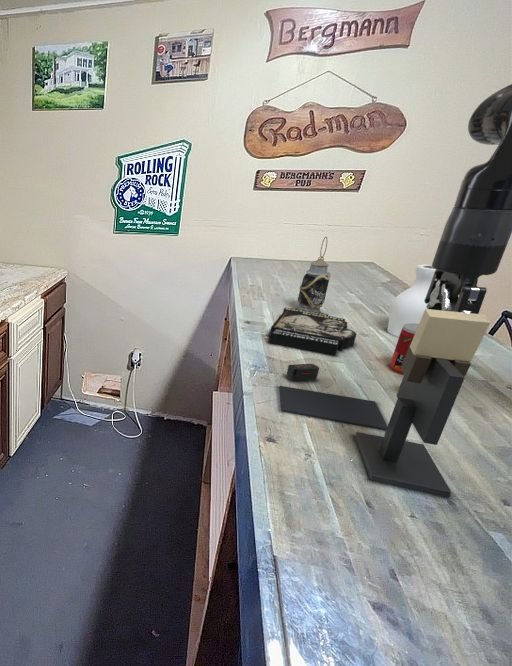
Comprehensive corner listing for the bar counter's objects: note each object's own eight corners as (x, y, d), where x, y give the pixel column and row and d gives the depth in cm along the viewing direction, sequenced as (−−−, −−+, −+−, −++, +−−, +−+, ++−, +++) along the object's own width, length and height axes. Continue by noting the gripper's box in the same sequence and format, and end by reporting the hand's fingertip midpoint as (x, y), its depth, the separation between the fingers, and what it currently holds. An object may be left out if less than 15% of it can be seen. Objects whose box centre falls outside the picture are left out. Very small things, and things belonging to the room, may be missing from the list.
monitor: (419, 447, 82) (461, 343, 74) (451, 502, 68) (505, 382, 60) (354, 434, 86) (386, 334, 78) (371, 484, 72) (412, 369, 64)
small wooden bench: (452, 374, 71) (481, 312, 66) (460, 389, 68) (492, 324, 63) (399, 367, 74) (423, 306, 69) (404, 381, 71) (431, 318, 65)
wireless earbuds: (320, 380, 107) (323, 368, 105) (291, 382, 106) (294, 369, 105) (307, 372, 111) (310, 360, 110) (279, 373, 110) (282, 361, 109)
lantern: (323, 315, 152) (343, 239, 142) (296, 313, 154) (314, 237, 145) (318, 308, 159) (337, 235, 149) (292, 306, 162) (309, 234, 152)
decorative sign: (264, 331, 128) (285, 307, 150) (262, 342, 129) (283, 316, 151) (352, 348, 117) (360, 318, 139) (349, 359, 118) (357, 328, 140)
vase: (374, 324, 143) (394, 260, 135) (428, 328, 140) (452, 263, 132) (394, 340, 131) (417, 271, 123) (453, 345, 127) (481, 274, 119)
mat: (374, 403, 97) (374, 401, 96) (387, 431, 87) (388, 428, 86) (279, 387, 103) (279, 385, 103) (281, 411, 93) (282, 409, 93)
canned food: (389, 372, 111) (403, 330, 106) (388, 361, 117) (402, 321, 112) (429, 380, 107) (446, 336, 102) (426, 369, 113) (442, 326, 108)
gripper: (529, 248, 61) (483, 359, 67) (486, 234, 73) (451, 330, 79) (458, 245, 64) (420, 352, 70) (428, 232, 76) (398, 324, 82)
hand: (436, 340), depth 75 cm, fingers open, 8 cm apart
